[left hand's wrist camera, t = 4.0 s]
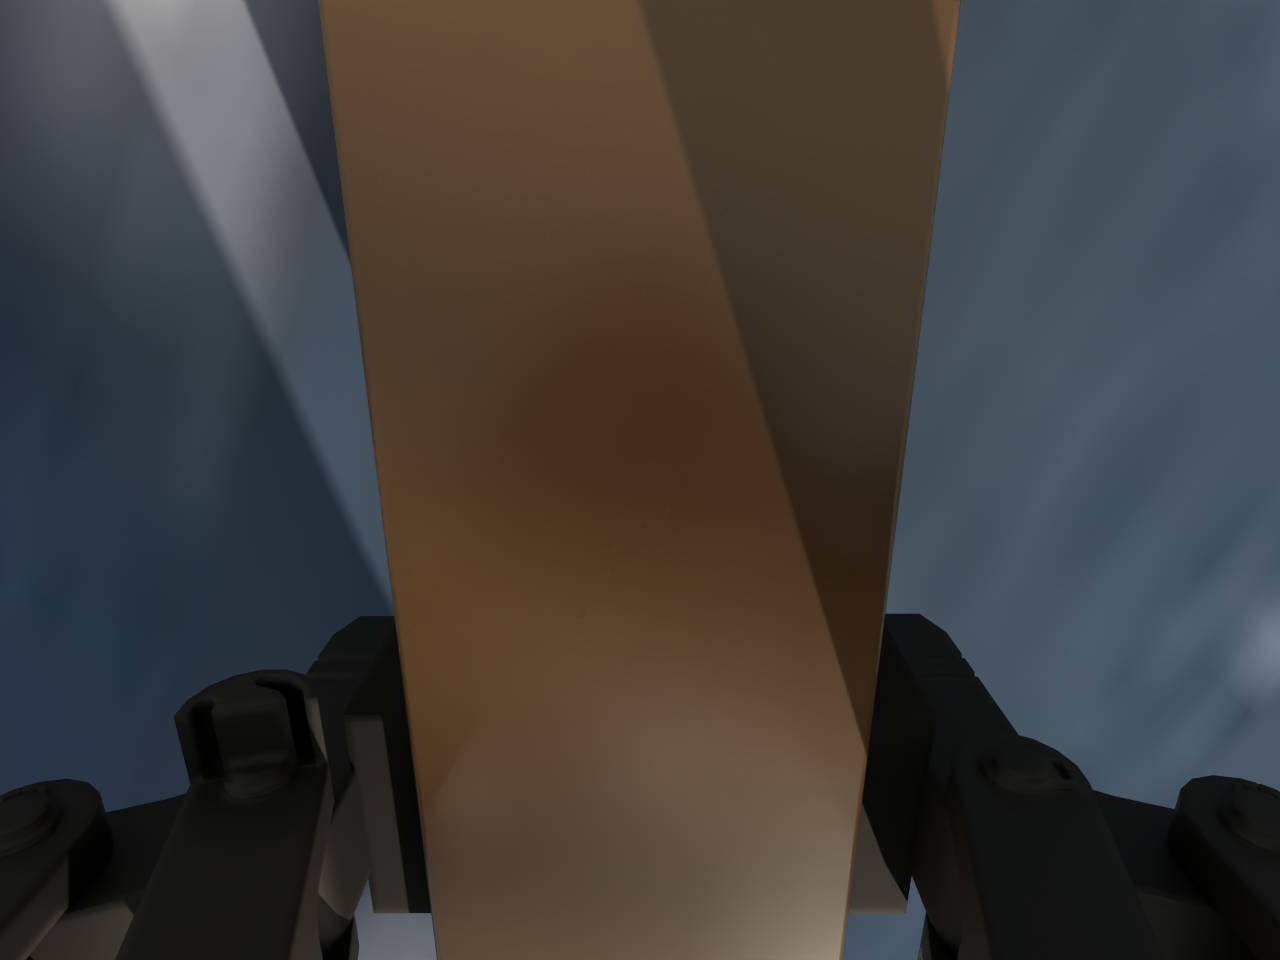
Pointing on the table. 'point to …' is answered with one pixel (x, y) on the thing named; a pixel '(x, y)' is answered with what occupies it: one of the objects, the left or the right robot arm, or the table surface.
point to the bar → (639, 443)
